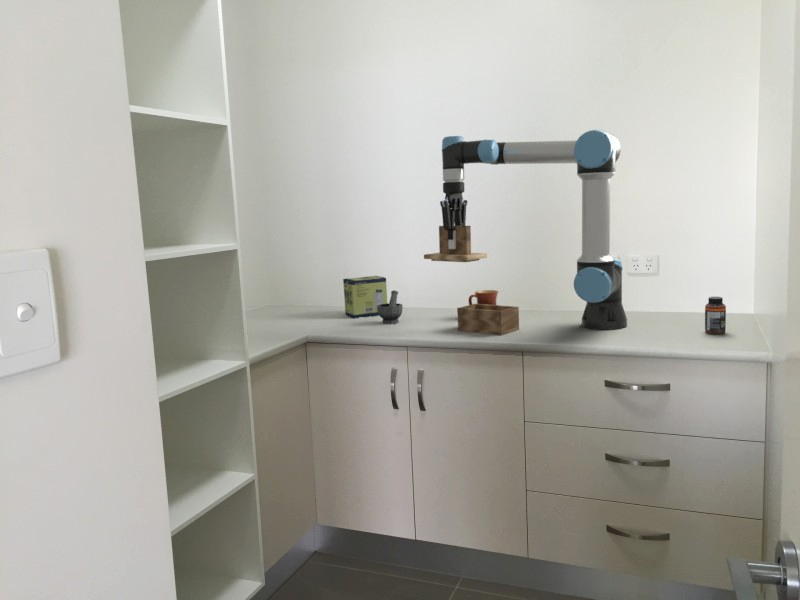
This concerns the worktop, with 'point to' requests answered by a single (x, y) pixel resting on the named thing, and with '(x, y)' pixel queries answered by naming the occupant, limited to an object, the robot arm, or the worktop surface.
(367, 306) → the protein box
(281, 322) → the worktop surface
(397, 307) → the mortar and pestle
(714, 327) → the supplement bottle
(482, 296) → the mug
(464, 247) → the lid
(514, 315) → the box
